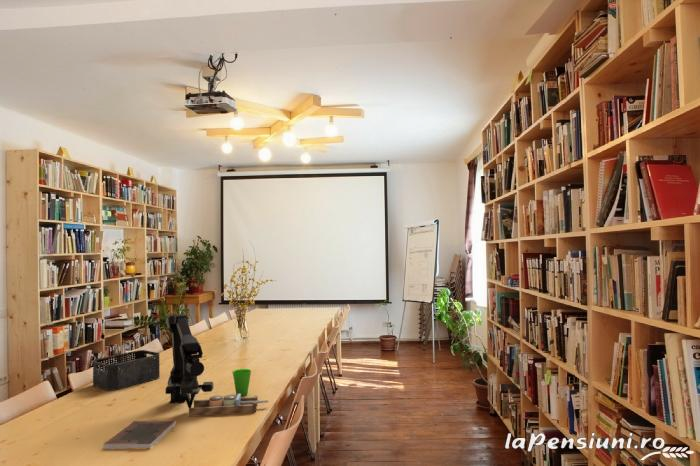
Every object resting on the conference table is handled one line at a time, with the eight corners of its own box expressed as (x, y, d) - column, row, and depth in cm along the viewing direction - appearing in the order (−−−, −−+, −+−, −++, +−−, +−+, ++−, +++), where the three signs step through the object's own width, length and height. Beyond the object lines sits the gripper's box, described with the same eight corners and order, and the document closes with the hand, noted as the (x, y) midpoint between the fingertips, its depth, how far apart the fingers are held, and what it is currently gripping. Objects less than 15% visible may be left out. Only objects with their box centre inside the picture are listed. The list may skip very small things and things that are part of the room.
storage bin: (110, 392, 222) (110, 364, 222) (89, 386, 232) (90, 359, 233) (162, 378, 246) (162, 353, 246) (141, 373, 256) (141, 349, 257)
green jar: (222, 412, 191) (222, 399, 192) (224, 407, 197) (224, 395, 197) (236, 411, 192) (236, 398, 192) (237, 406, 198) (237, 394, 198)
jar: (208, 412, 191) (208, 399, 191) (210, 408, 196) (210, 395, 197) (222, 412, 191) (222, 399, 192) (224, 407, 197) (224, 394, 197)
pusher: (235, 411, 191) (235, 399, 191) (238, 405, 199) (237, 393, 199) (267, 409, 193) (267, 397, 193) (268, 403, 201) (268, 392, 201)
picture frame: (150, 450, 156) (175, 426, 177) (150, 443, 156) (175, 420, 177) (103, 450, 156) (134, 426, 178) (103, 443, 156) (134, 420, 178)
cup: (232, 398, 209) (232, 374, 210) (231, 392, 218) (231, 369, 218) (252, 396, 212) (252, 372, 212) (251, 390, 220) (251, 368, 221)
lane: (188, 416, 187) (188, 407, 187) (194, 407, 198) (194, 398, 198) (255, 412, 190) (255, 403, 191) (257, 403, 202) (257, 395, 202)
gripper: (162, 377, 184) (161, 416, 183) (209, 374, 186) (209, 413, 186) (168, 370, 195) (168, 407, 194) (213, 368, 197) (213, 404, 197)
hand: (189, 408), depth 192 cm, fingers closed
